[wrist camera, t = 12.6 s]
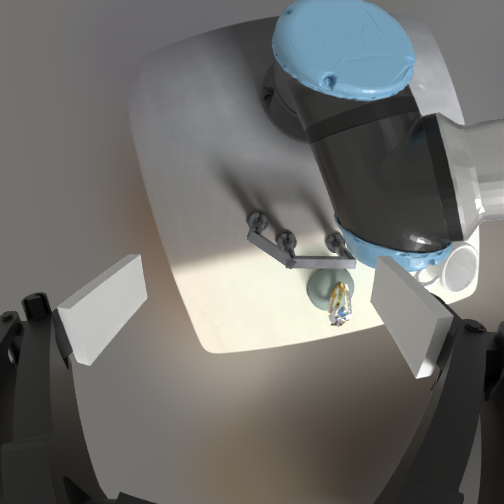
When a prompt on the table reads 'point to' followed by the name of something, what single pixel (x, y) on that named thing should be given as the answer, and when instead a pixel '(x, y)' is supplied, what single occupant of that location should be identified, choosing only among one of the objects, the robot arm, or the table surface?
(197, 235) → the table surface
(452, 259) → the mug
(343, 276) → the felt coaster
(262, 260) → the table surface
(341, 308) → the ring
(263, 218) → the bent grey rail
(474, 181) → the robot arm
